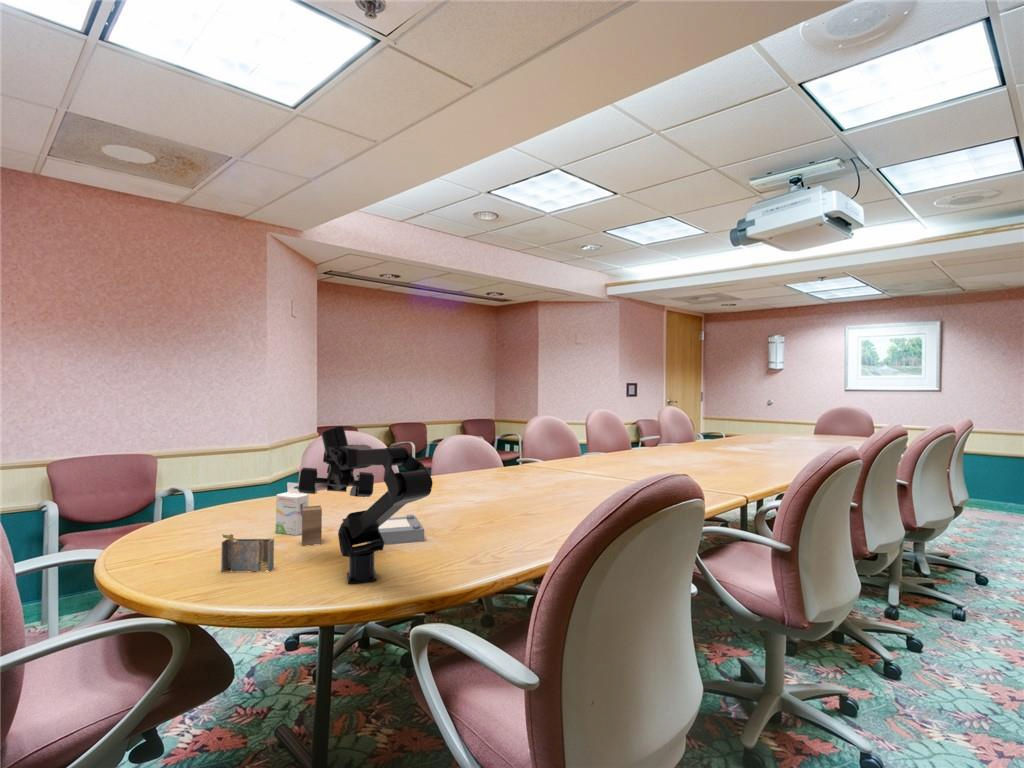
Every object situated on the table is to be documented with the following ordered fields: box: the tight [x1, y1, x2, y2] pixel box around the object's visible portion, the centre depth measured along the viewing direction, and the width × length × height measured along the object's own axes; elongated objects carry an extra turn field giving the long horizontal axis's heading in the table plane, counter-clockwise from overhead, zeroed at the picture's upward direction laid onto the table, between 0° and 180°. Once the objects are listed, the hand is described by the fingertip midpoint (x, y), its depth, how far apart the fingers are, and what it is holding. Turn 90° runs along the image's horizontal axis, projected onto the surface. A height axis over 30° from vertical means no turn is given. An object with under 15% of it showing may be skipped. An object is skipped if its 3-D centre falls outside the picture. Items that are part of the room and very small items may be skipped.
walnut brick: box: [301, 505, 323, 547], centre depth 150 cm, size 5×5×10 cm
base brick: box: [366, 514, 425, 545], centre depth 158 cm, size 16×16×4 cm
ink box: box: [275, 481, 309, 536], centre depth 161 cm, size 9×5×15 cm, turn 71°
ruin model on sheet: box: [220, 533, 275, 572], centre depth 128 cm, size 11×3×10 cm, turn 92°
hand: (333, 492), depth 145 cm, fingers open, 9 cm apart
